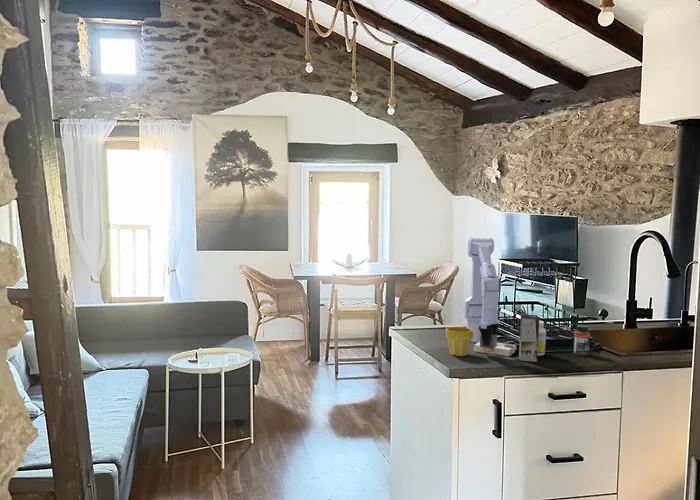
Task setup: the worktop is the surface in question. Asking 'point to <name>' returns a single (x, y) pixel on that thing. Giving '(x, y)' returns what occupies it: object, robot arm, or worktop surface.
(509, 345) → the socket
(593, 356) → the worktop surface
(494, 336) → the plug
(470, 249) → the robot arm
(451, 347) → the plant pot
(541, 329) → the supplement bottle
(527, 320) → the coffee box
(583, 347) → the supplement bottle
